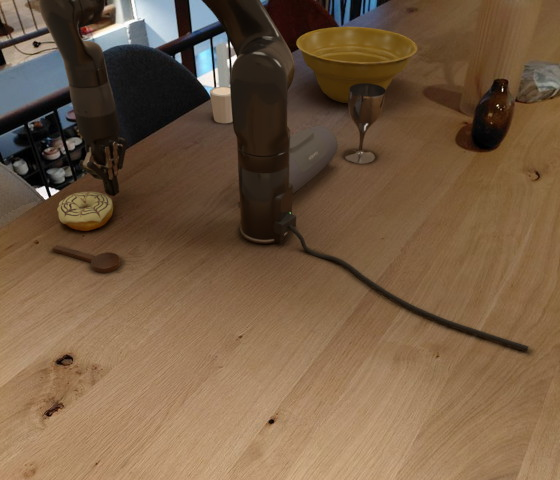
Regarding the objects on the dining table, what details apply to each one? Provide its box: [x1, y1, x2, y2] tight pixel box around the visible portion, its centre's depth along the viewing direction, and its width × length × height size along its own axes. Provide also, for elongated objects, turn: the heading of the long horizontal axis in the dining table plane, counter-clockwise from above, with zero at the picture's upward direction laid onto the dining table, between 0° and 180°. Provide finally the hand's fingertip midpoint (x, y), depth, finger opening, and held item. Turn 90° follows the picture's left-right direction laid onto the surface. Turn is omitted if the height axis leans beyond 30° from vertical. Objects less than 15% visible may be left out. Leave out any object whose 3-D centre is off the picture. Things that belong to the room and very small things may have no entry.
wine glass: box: [344, 83, 387, 164], centre depth 129 cm, size 8×8×15 cm
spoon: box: [52, 244, 121, 274], centre depth 104 cm, size 14×5×1 cm, turn 67°
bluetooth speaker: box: [289, 124, 339, 194], centre depth 122 cm, size 23×9×10 cm, turn 149°
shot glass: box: [209, 86, 233, 124], centre depth 146 cm, size 7×7×7 cm
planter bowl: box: [295, 26, 418, 104], centre depth 157 cm, size 32×32×13 cm
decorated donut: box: [56, 191, 114, 232], centre depth 113 cm, size 10×11×4 cm
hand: (113, 193), depth 117 cm, fingers closed
